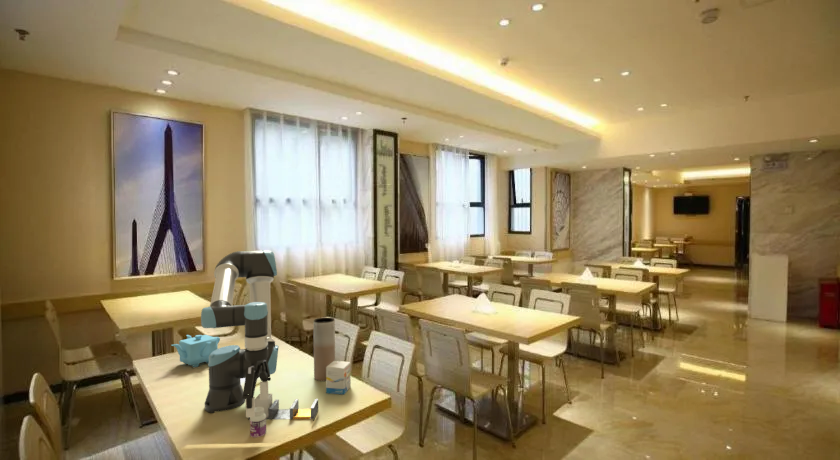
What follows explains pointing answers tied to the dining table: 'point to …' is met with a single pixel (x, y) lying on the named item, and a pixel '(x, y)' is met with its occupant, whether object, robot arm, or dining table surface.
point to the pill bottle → (258, 423)
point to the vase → (323, 346)
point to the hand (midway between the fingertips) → (257, 407)
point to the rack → (292, 411)
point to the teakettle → (196, 349)
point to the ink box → (338, 377)
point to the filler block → (264, 404)
